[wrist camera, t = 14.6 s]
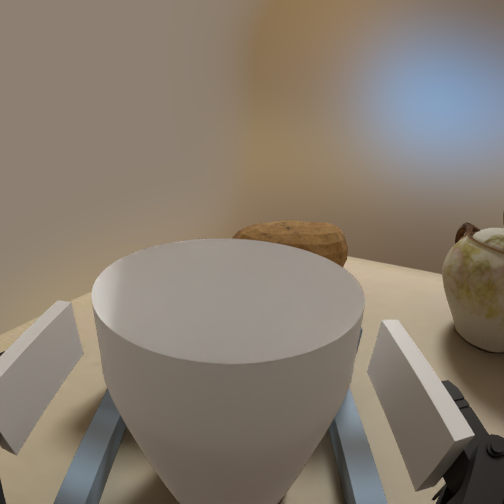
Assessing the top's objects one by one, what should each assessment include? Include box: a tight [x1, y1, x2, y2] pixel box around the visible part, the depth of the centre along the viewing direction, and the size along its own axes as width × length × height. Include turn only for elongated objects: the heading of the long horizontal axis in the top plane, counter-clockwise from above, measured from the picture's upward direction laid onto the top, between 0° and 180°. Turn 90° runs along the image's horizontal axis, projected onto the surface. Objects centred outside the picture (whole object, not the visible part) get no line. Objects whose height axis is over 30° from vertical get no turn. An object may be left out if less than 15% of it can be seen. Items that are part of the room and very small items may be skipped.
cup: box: [92, 238, 365, 504], centre depth 12 cm, size 9×9×12 cm
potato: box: [232, 220, 348, 267], centre depth 37 cm, size 10×14×8 cm
